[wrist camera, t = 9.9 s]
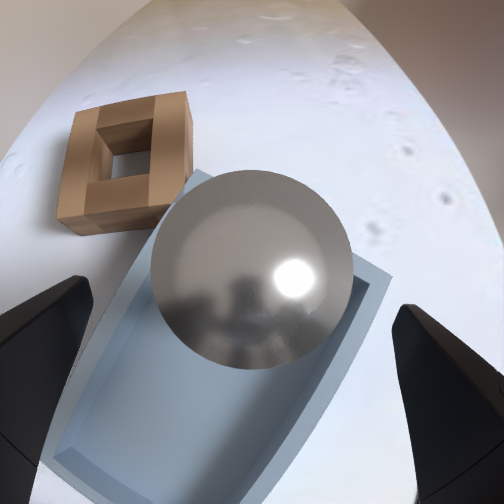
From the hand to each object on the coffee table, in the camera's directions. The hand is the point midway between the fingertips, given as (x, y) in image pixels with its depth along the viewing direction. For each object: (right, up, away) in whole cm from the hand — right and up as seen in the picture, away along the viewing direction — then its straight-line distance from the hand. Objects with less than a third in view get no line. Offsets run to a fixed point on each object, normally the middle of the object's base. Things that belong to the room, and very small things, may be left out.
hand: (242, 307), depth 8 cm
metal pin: (0, -2, +9) cm, 9 cm away
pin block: (-8, +7, +12) cm, 16 cm away
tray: (-3, -6, +9) cm, 11 cm away
